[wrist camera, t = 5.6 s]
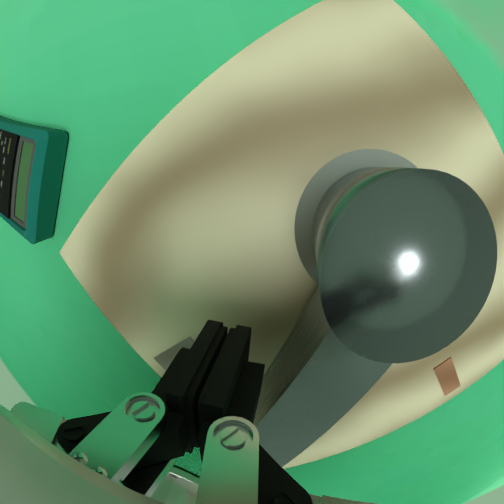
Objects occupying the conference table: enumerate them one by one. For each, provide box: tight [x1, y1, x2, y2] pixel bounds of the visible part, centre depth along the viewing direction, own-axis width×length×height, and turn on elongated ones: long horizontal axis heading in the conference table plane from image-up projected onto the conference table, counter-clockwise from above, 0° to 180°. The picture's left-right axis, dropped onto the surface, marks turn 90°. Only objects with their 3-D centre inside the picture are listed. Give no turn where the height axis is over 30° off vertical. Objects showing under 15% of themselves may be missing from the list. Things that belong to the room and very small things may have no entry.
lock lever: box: [253, 167, 497, 467], centre depth 9 cm, size 14×5×5 cm, turn 157°
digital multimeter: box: [0, 116, 68, 244], centre depth 13 cm, size 7×15×3 cm, turn 69°
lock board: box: [60, 0, 504, 469], centre depth 12 cm, size 22×22×2 cm
